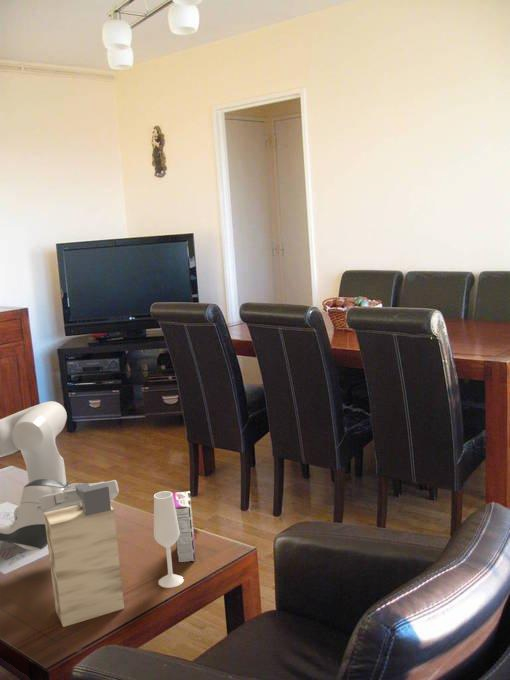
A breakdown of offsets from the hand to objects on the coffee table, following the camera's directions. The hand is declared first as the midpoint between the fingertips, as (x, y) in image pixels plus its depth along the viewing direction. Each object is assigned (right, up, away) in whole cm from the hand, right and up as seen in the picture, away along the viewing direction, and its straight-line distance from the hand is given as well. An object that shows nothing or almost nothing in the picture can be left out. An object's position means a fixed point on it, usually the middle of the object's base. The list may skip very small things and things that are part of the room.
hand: (83, 490), depth 187 cm
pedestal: (+3, -28, -4) cm, 29 cm away
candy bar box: (+24, -22, +22) cm, 39 cm away
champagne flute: (+21, -25, +7) cm, 34 cm away
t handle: (+3, -2, -4) cm, 5 cm away
